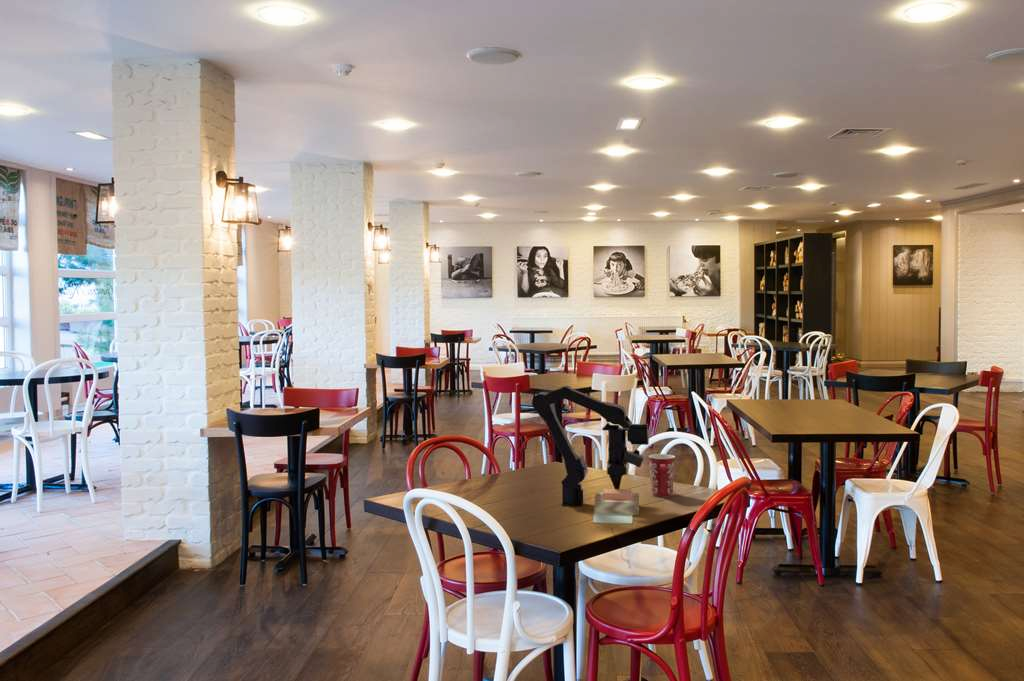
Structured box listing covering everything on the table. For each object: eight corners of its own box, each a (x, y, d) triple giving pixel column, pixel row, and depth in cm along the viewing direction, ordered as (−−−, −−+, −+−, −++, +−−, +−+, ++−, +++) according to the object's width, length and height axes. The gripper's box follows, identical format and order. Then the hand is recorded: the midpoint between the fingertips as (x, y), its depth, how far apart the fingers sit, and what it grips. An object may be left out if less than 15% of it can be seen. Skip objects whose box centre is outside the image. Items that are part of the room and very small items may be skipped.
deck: (594, 513, 267) (594, 501, 267) (596, 504, 279) (596, 492, 279) (638, 514, 265) (638, 502, 265) (638, 505, 277) (638, 493, 277)
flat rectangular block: (602, 499, 270) (602, 493, 269) (603, 494, 275) (603, 488, 275) (630, 499, 268) (630, 493, 268) (631, 495, 274) (631, 489, 274)
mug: (648, 491, 297) (648, 453, 296) (674, 491, 295) (674, 453, 294) (648, 500, 284) (648, 460, 283) (676, 500, 283) (676, 461, 282)
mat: (592, 523, 256) (592, 522, 256) (594, 513, 267) (594, 512, 267) (632, 524, 255) (632, 523, 255) (632, 514, 265) (632, 513, 265)
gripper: (642, 449, 265) (642, 498, 266) (641, 439, 284) (641, 484, 285) (607, 448, 267) (607, 497, 268) (608, 438, 285) (608, 484, 286)
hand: (617, 490), depth 276 cm, fingers closed
